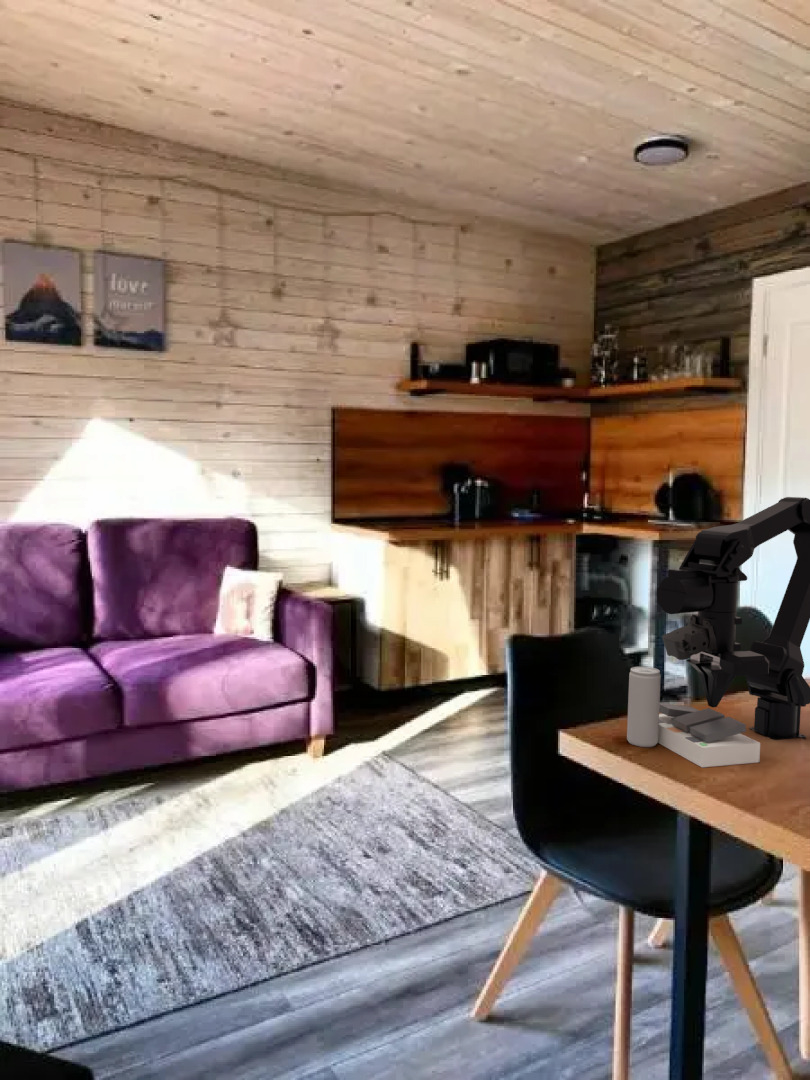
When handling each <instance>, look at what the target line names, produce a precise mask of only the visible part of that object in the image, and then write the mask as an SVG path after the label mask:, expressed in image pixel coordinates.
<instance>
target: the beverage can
mask: <svg viewBox="0 0 810 1080" xmlns="http://www.w3.org/2000/svg"><path fill="white" fill-rule="evenodd" d="M660 673H661V671H660V670H659V669H658V668H654V667H649V666H648V667H647V666H634V667H631V668H630V672H629V674H628V675H629V676H628V678H629V679H628V697H627V699H628V701H627V702H628V703H627V723H626V724H627V729H626V740H627V741H628V743H629V744H630V745H633V746H636V747H641V748H653V747H655V746H656V745H657V744H659V743H658V728H659V714H660V712H659V704H660V703H661V702H660V701H661V699H660V698H661V681H662V680H661V674H660Z"/></svg>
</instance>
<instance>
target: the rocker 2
mask: <svg viewBox="0 0 810 1080" xmlns="http://www.w3.org/2000/svg"><path fill="white" fill-rule="evenodd" d="M699 710H700V709H699ZM722 718H726V715H725V713H724V714H723V713H722V712H719V711H717V710H715V709H712V708H710V707H708V708H704V709H701V710H700V711H696V712H692V713H688V714H685V715H681V716H677V717H673V718H671V719H672V725H673V726H675V727H677V728H679V729H681V730H683V731H685V732H686V733H688V732H690V727H693V726H696V725H700V724H704V723H707V722H711V721H715V720H718V719H722Z"/></svg>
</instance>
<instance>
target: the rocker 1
mask: <svg viewBox="0 0 810 1080" xmlns="http://www.w3.org/2000/svg"><path fill="white" fill-rule="evenodd" d="M696 711H700V709H697V708H695V707H692V706H689V705H680V704H674V703H673V704H671V703H665V702H660V704H659V713H660V714H665V715H667V716H671V717H677V716H681V715H685V714H688V713H692V712H696Z"/></svg>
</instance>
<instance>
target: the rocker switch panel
mask: <svg viewBox="0 0 810 1080" xmlns="http://www.w3.org/2000/svg"><path fill="white" fill-rule="evenodd" d="M671 718H673V717H671V716H667V715H665V714H663V713H659V728H658V743H657V744H660V745H661V746H663V747H665V748H667V749H668V750H669V751H672V752H674V753H675V754H677V755H679V756H681V757H683V758H685V760H688V762H689V761H690V762H691V763H693V764H695V765H697V766H699V767H701V768H709V767H721V766H723V767H724V766H733V765H743V764H744V765H745V764H754V763H755V764H756V763H760V761H761V760H760V756H761V742H759V741H758V740H755V739H753V738H751V737H749V736H747V735H745V734H743V733H740V734H736V735H732V736H729V737H725V738H722V739H718V740H714V741H711V742H707V743H706V742H704V741H702V740H700V739H698V738H696V737H694V736H692V735H691V733H690V732H688V733H686V732H685V731H683V730H681V729H679V728H677V727H675V726H673V725H672V719H671Z"/></svg>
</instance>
